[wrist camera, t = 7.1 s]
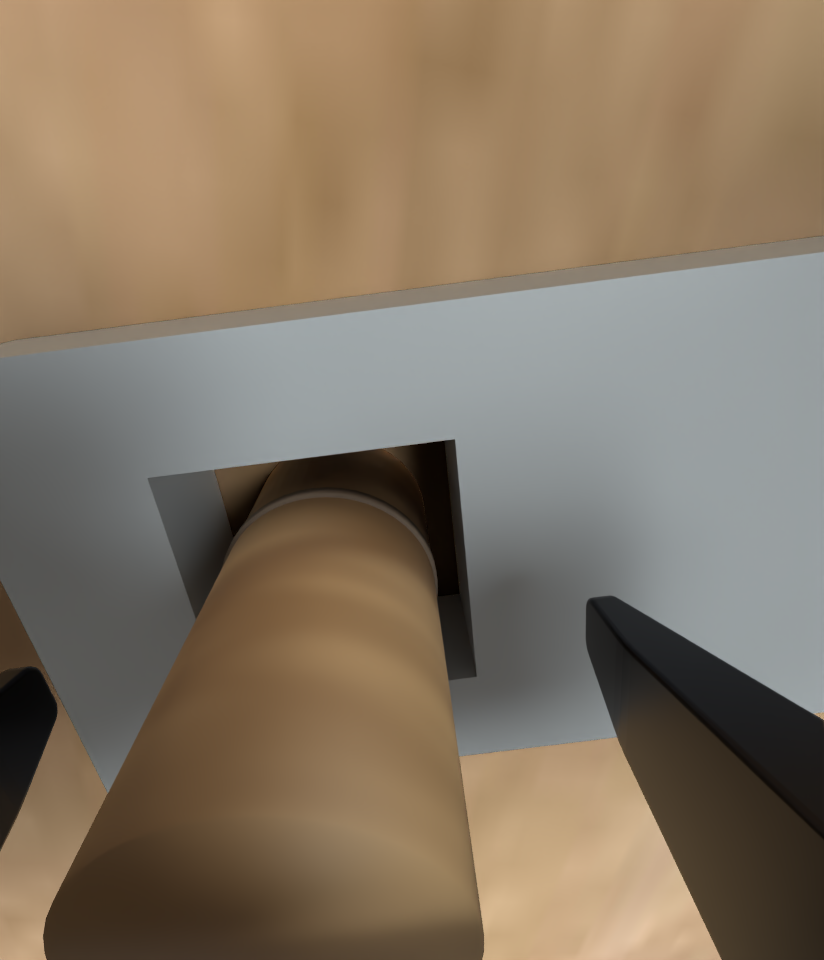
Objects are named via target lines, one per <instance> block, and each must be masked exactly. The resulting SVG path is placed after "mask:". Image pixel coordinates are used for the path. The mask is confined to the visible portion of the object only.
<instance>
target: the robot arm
mask: <svg viewBox="0 0 824 960" xmlns="http://www.w3.org/2000/svg"><path fill="white" fill-rule="evenodd" d="M586 646H587V651H588V654H589V657H590V660H591V663H592V666H593V669H594V672H595V675H596V678H597V681H598V683H599V686H600V689H601V692H602V695H603V698H604V701H605V704H606V707H607V710H608V712H609V715H610V718H611V721H612V724H613V727H614V730H615V732H616V735H617V738H618V741H619V743H620V745H621V747H622V750H623V752H624V754H625V757H626V759H627V761H628V763H629V765H630V767H631V769H632V771H633V773H634V776H635V778H636V780H637V782H638V784H639V786H640V788H641V790H642V792H643V795H644V797H645V799H646V801H647V803H648V805H649V807H650V809H651V811H652V814H653V816H654V818H655V820H656V822H657V824H658V826H659V828H660V830H661V833H662V835H663V837H664V839H665V841H666V843H667V845H668V847H669V849H670V852H671V854H672V856H673V858H674V860H675V862H676V864H677V866H678V868H679V871H680V873H681V875H682V877H683V879H684V881H685V883H686V885H687V887H688V890H689V892H690V894H691V896H692V898H693V900H694V902H695V904H696V906H697V909H698V911H699V913H700V915H701V917H702V919H703V921H704V923H705V925H706V928H707V930H708V932H709V934H710V936H711V938H712V940H713V942H714V944H715V947H716V949H717V951H718V953H719V955H720V957H721V959H722V960H824V720H823V719H821V718H819V717H818V716H816V715H814V714H813V713H811V712H809V711H808V710H806V709H804V708H803V707H801V706H799V705H798V704H796V703H794V702H792V701H791V700H789V699H787V698H786V697H784V696H782V695H781V694H779V693H777V692H776V691H774V690H772V689H771V688H769V687H767V686H766V685H764V684H762V683H760V682H759V681H757V680H755V679H754V678H752V677H750V676H749V675H747V674H745V673H744V672H742V671H740V670H739V669H737V668H735V667H734V666H732V665H730V664H728V663H727V662H725V661H723V660H722V659H720V658H718V657H717V656H715V655H713V654H712V653H710V652H708V651H707V650H705V649H703V648H702V647H700V646H698V645H696V644H695V643H693V642H691V641H690V640H688V639H686V638H685V637H683V636H681V635H680V634H678V633H676V632H675V631H673V630H671V629H670V628H668V627H666V626H664V625H663V624H661V623H659V622H658V621H656V620H654V619H653V618H651V617H649V616H648V615H646V614H644V613H643V612H641V611H639V610H637V609H636V608H634V607H632V606H631V605H629V604H627V603H626V602H624V601H622V600H621V599H619V598H617V597H615V596H612V595H608V596H600V597H592V598H589V599H588V600H587V603H586ZM56 717H57V703H56V701H55V699H54V697H53V695H52V693H51V691H50V689H49V687H48V685H47V683H46V681H45V679H44V677H43V675H42V673H41V672H40V670H38V669H37V668H36V667H21V668H13V669H9V670H6V671H4V672H2V673H0V851H1V849H2V847H3V845H4V843H5V841H6V839H7V837H8V835H9V833H10V831H11V828H12V826H13V824H14V822H15V820H16V818H17V816H18V814H19V811H20V809H21V806H22V804H23V802H24V799H25V797H26V794H27V792H28V789H29V787H30V784H31V782H32V779H33V777H34V774H35V771H36V769H37V766H38V764H39V761H40V759H41V756H42V754H43V751H44V748H45V746H46V743H47V741H48V738H49V736H50V733H51V731H52V728H53V726H54V723H55V720H56Z"/></svg>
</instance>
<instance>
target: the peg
mask: <svg viewBox="0 0 824 960" xmlns="http://www.w3.org/2000/svg"><path fill="white" fill-rule="evenodd" d="M437 593H438V581H437V572H436V567H435V562H434V557H433V555H432V552H431V549H430V545H429V537H428V530H427V523H426V516H425V509H424V503H423V498H422V494H421V491H420V489H419V486H418V484H417V482H416V480H415V478H414V477H413V476H412V474H411V473H410V471H409V470H408V469H407V468H406V467H405V466H404V465H403V463H402V462H400V461H399V460H398V459H397V458H396V457H394V456H393V455H392V454H390V453H388V452H387V451H385V450H384V449H382V448H381V449H373V450H365V451H357V452H349V453H341V454H333V455H326V456H318V457H310V458H302V459H294V460H286V461H281V462H280V463H279V464H278V465H277V466H276V467H275V468H274V470H273V471H272V472H271V474H270V476H269V477H268V479H267V481H266V483H265V485H264V487H263V489H262V491H261V493H260V495H259V497H258V499H257V501H256V502H255V504H254V506H253V508H252V510H251V512H250V514H249V516H248V518H247V520H246V522H245V523H244V524H243V525H242V526H241V527H240V529H239V531H238V532H237V534H236V535H235V537H234V539H233V540H232V542H231V544H230V546H229V549H228V551H227V553H226V556H225V558H224V562H223V566H222V569H221V571H220V573H219V575H218V577H217V579H216V581H215V583H214V585H213V587H212V589H211V591H210V593H209V595H208V597H207V599H206V601H205V603H204V605H203V607H202V609H201V611H200V613H199V615H198V617H197V619H196V621H195V623H194V625H193V627H192V629H191V631H190V633H189V635H188V637H187V638H186V640H185V642H184V644H183V646H182V648H181V650H180V652H179V654H178V656H177V658H176V660H175V662H174V664H173V666H172V668H171V670H170V672H169V674H168V676H167V678H166V680H165V682H164V684H163V686H162V688H161V690H160V692H159V694H158V696H157V698H156V700H155V702H154V704H153V705H152V707H151V709H150V711H149V713H148V715H147V717H146V719H145V721H144V723H143V725H142V727H141V729H140V731H139V733H138V735H137V737H136V739H135V741H134V743H133V745H132V747H131V749H130V751H129V753H128V755H127V757H126V759H125V761H124V763H123V765H122V767H121V769H120V771H119V773H118V774H117V776H116V778H115V780H114V782H113V784H112V786H111V788H110V790H109V792H108V794H107V796H106V798H105V800H104V802H103V804H102V806H101V808H100V810H99V812H98V814H97V816H96V818H95V820H94V822H93V824H92V826H91V828H90V830H89V832H88V834H87V836H86V838H85V840H84V841H83V843H82V845H81V847H80V849H79V851H78V853H77V855H76V857H75V859H74V861H73V863H72V865H71V867H70V869H69V871H68V873H67V875H66V877H65V879H64V881H63V883H62V885H61V887H60V889H59V891H58V893H57V895H56V897H55V899H54V901H53V903H52V905H51V908H50V910H49V912H48V915H47V917H46V921H45V928H44V934H43V940H44V951H45V955H46V959H47V960H482V957H483V953H484V932H483V925H482V918H481V911H480V903H479V896H478V889H477V882H476V875H475V868H474V860H473V853H472V846H471V839H470V832H469V824H468V817H467V810H466V803H465V796H464V789H463V781H462V774H461V767H460V760H459V753H458V746H457V738H456V731H455V724H454V717H453V710H452V702H451V695H450V688H449V681H448V674H447V667H446V659H445V652H444V645H443V638H442V631H441V623H440V616H439V609H438V602H437Z"/></svg>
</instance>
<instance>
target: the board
mask: <svg viewBox="0 0 824 960" xmlns="http://www.w3.org/2000/svg"><path fill="white" fill-rule="evenodd" d="M436 441H444V442H445V452H446V462H447V472H448V482H449V492H450V502H451V512H452V521H453V531H454V541H455V551H456V561H457V571H458V581H459V591H460V594H454V595H446V596H438V597H437V602H438V609H439V616H440V623H441V631H442V638H443V645H444V652H445V659H446V667H447V674H448V681H449V688H450V695H451V702H452V710H453V717H454V724H455V731H456V738H457V746H458V753H459V756H466V755H474V754H482V753H491V752H499V751H507V750H515V749H524V748H532V747H540V746H548V745H557V744H565V743H573V742H581V741H590V740H598V739H606V738H614V737H617V735H616V732H615V730H614V727H613V724H612V721H611V718H610V715H609V712H608V710H607V707H606V704H605V701H604V698H603V695H602V692H601V689H600V686H599V683H598V681H597V678H596V675H595V672H594V669H593V666H592V663H591V660H590V657H589V654H588V651H587V646H586V603H587V600H588V599H589V598H592V597H600V596H608V595H612V596H615V597H617V598H619V599H621V600H622V601H624V602H626V603H627V604H629V605H631V606H632V607H634V608H636V609H637V610H639V611H641V612H643V613H644V614H646V615H648V616H649V617H651V618H653V619H654V620H656V621H658V622H659V623H661V624H663V625H664V626H666V627H668V628H670V629H671V630H673V631H675V632H676V633H678V634H680V635H681V636H683V637H685V638H686V639H688V640H690V641H691V642H693V643H695V644H696V645H698V646H700V647H702V648H703V649H705V650H707V651H708V652H710V653H712V654H713V655H715V656H717V657H718V658H720V659H722V660H723V661H725V662H727V663H728V664H730V665H732V666H734V667H735V668H737V669H739V670H740V671H742V672H744V673H745V674H747V675H749V676H750V677H752V678H754V679H755V680H757V681H759V682H760V683H762V684H764V685H766V686H767V687H769V688H771V689H772V690H774V691H776V692H777V693H779V694H781V695H782V696H784V697H786V698H787V699H789V700H791V701H792V702H794V703H796V704H798V705H799V706H801V707H803V708H804V709H806V710H808V711H809V712H811V713H821V712H824V236H818V237H811V238H803V239H795V240H787V241H780V242H772V243H764V244H756V245H749V246H741V247H733V248H725V249H718V250H710V251H702V252H694V253H687V254H679V255H671V256H663V257H656V258H648V259H640V260H632V261H625V262H617V263H609V264H601V265H594V266H586V267H578V268H570V269H563V270H555V271H547V272H539V273H531V274H524V275H516V276H508V277H500V278H493V279H485V280H477V281H469V282H462V283H454V284H446V285H438V286H431V287H423V288H415V289H407V290H400V291H392V292H384V293H376V294H369V295H361V296H353V297H345V298H338V299H330V300H322V301H314V302H307V303H299V304H291V305H283V306H276V307H268V308H260V309H252V310H245V311H237V312H229V313H221V314H214V315H206V316H198V317H190V318H183V319H175V320H167V321H159V322H152V323H144V324H136V325H128V326H121V327H113V328H105V329H97V330H90V331H82V332H74V333H66V334H58V335H51V336H43V337H35V338H27V339H20V340H13V341H9V342H5V343H2V344H0V581H1V583H2V585H3V587H4V589H5V591H6V593H7V595H8V596H9V598H10V600H11V602H12V604H13V606H14V608H15V610H16V612H17V614H18V616H19V618H20V620H21V622H22V624H23V626H24V628H25V630H26V632H27V634H28V636H29V638H30V640H31V642H32V644H33V646H34V648H35V650H36V652H37V654H38V656H39V658H40V660H41V662H42V664H43V666H44V668H45V670H46V672H47V674H48V676H49V678H50V680H51V682H52V684H53V686H54V688H55V690H56V692H57V694H58V696H59V697H60V699H61V701H62V703H63V705H64V707H65V709H66V711H67V713H68V715H69V717H70V719H71V721H72V723H73V725H74V727H75V729H76V731H77V733H78V735H79V737H80V739H81V741H82V743H83V745H84V747H85V749H86V751H87V753H88V755H89V757H90V759H91V761H92V763H93V765H94V767H95V769H96V771H97V773H98V775H99V777H100V779H101V781H102V783H103V785H104V787H105V789H106V791H107V793H108V792H109V790H110V788H111V786H112V784H113V782H114V780H115V778H116V776H117V774H118V773H119V771H120V769H121V767H122V765H123V763H124V761H125V759H126V757H127V755H128V753H129V751H130V749H131V747H132V745H133V743H134V741H135V739H136V737H137V735H138V733H139V731H140V729H141V727H142V725H143V723H144V721H145V719H146V717H147V715H148V713H149V711H150V709H151V707H152V705H153V704H154V702H155V700H156V698H157V696H158V694H159V692H160V690H161V688H162V686H163V684H164V682H165V680H166V678H167V676H168V674H169V672H170V670H171V668H172V666H173V664H174V662H175V660H176V658H177V656H178V654H179V652H180V650H181V648H182V646H183V644H184V642H185V640H186V638H187V637H188V635H189V633H190V631H191V629H192V627H193V625H194V623H195V621H196V619H197V617H198V615H199V613H200V611H201V609H202V607H203V605H204V603H205V601H206V599H207V597H208V595H209V593H210V591H211V589H212V587H213V585H214V583H215V581H216V579H217V577H218V575H219V573H220V571H221V569H222V566H223V562H224V558H225V556H226V553H227V551H228V549H229V546H230V544H231V542H232V540H233V539H234V538H233V534H232V531H231V527H230V524H229V520H228V517H227V513H226V510H225V506H224V503H223V499H222V496H221V492H220V489H219V486H218V482H217V479H216V475H215V472H214V470H215V469H223V468H231V467H239V466H246V465H254V464H262V463H270V462H278V461H286V460H294V459H302V458H310V457H318V456H326V455H333V454H341V453H349V452H357V451H365V450H373V449H381V448H389V447H397V446H405V445H413V444H421V443H428V442H436Z"/></svg>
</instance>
